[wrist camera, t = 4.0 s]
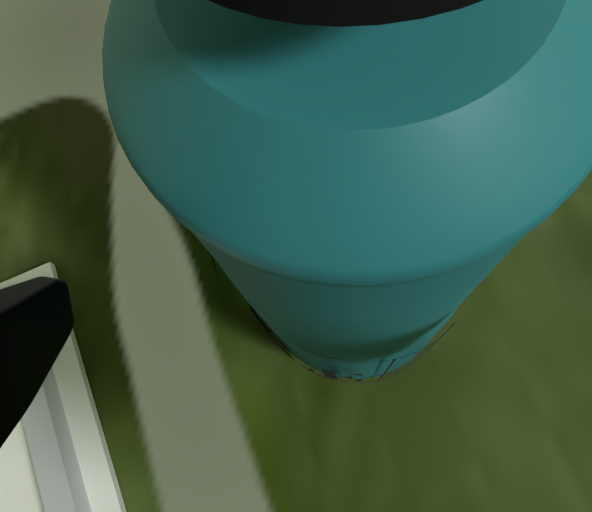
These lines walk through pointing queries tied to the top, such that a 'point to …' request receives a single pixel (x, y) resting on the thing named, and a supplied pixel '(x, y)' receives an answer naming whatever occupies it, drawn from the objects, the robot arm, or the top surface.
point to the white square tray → (58, 441)
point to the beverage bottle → (354, 150)
